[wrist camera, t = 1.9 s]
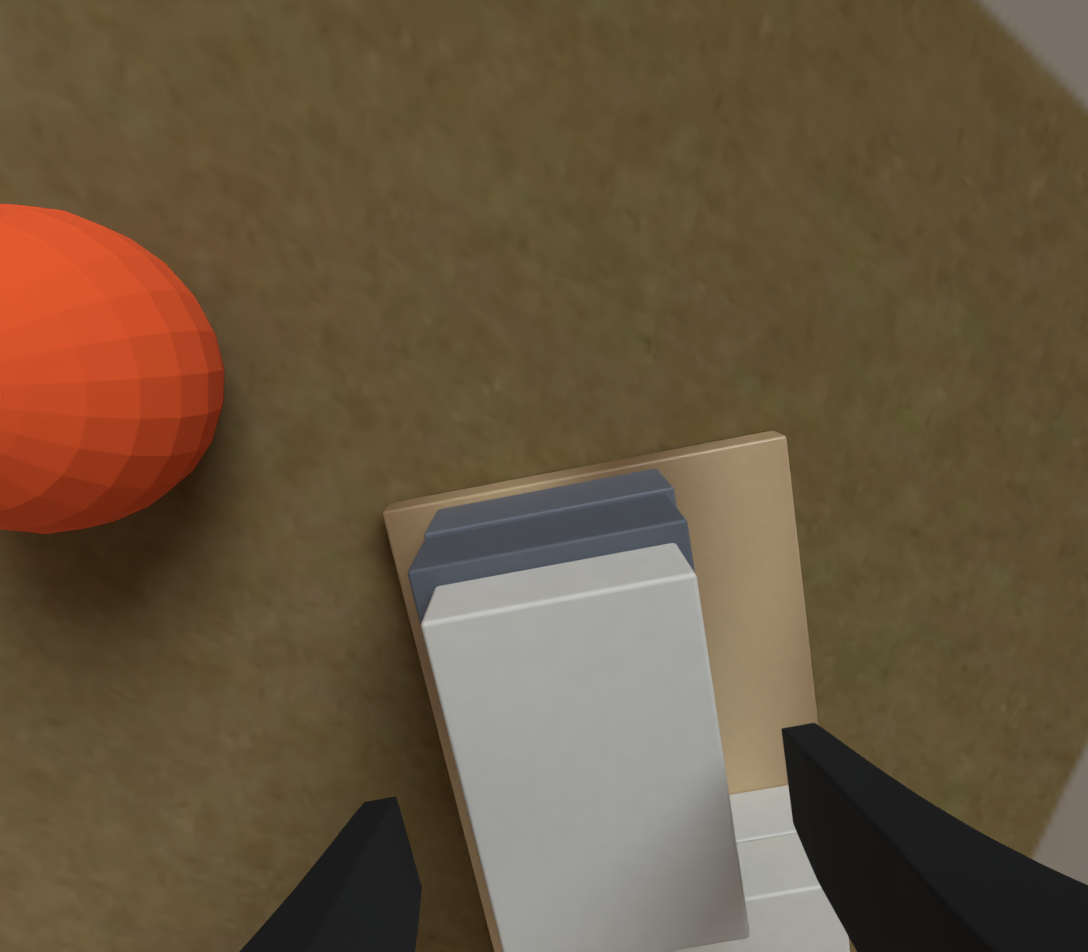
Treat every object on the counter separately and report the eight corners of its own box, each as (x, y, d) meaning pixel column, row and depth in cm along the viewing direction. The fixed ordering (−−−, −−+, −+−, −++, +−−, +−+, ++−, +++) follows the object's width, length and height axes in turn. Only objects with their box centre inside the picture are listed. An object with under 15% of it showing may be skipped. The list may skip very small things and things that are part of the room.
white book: (675, 540, 13) (696, 572, 11) (726, 868, 15) (751, 939, 13) (433, 585, 13) (418, 624, 12) (511, 904, 15) (508, 980, 13)
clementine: (-21, 186, 17) (-422, 84, 10) (253, 184, 17) (50, 79, 10) (36, 492, 18) (-269, 591, 11) (284, 489, 18) (130, 585, 11)
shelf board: (773, 429, 18) (787, 435, 17) (834, 959, 22) (848, 988, 21) (388, 502, 19) (380, 512, 18) (517, 1011, 23) (516, 1042, 22)
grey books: (657, 467, 17) (696, 512, 13) (703, 759, 19) (750, 883, 15) (436, 509, 18) (404, 567, 13) (504, 794, 20) (495, 925, 15)
